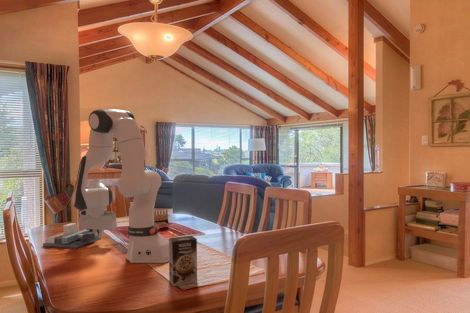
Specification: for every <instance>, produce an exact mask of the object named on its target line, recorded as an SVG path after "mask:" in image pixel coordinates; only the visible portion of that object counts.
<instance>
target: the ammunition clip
mask: <svg viewBox="0 0 470 313" xmlns="http://www.w3.org/2000/svg"><path fill="white" fill-rule="evenodd" d="M168 213H169V212H168V208H163V209H161V208H160V209H157V210H156V209H154V224H162V225H163V223H168V224H169V214H168Z"/></svg>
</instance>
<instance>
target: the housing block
mask: <svg viewBox="0 0 470 313" xmlns="http://www.w3.org/2000/svg"><path fill="white" fill-rule="evenodd" d="M77 224H78V223H77V222H74V223H73V222H70V223H67V224H64V225H62V228H63V230H62V231H63V232H62V233H63V237H65V236H68V235H71V234H74V233H77V230H78V227H77Z"/></svg>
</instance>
